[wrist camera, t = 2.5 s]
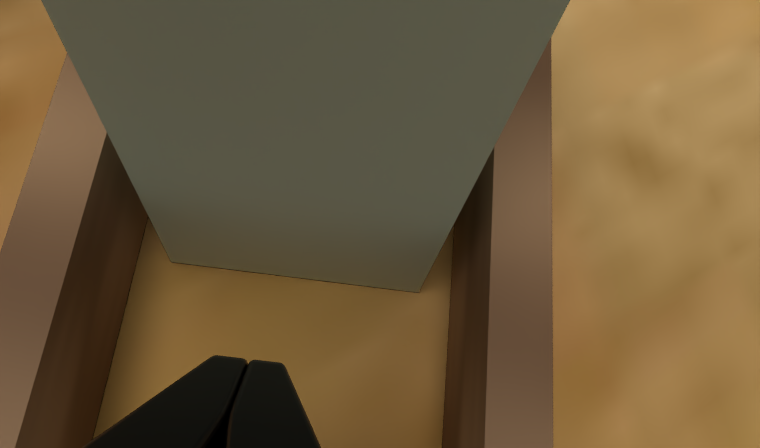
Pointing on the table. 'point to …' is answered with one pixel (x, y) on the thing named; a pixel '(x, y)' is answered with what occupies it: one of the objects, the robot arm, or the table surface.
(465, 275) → the brown rectangular frame
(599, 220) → the table surface
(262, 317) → the table surface
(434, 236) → the block
